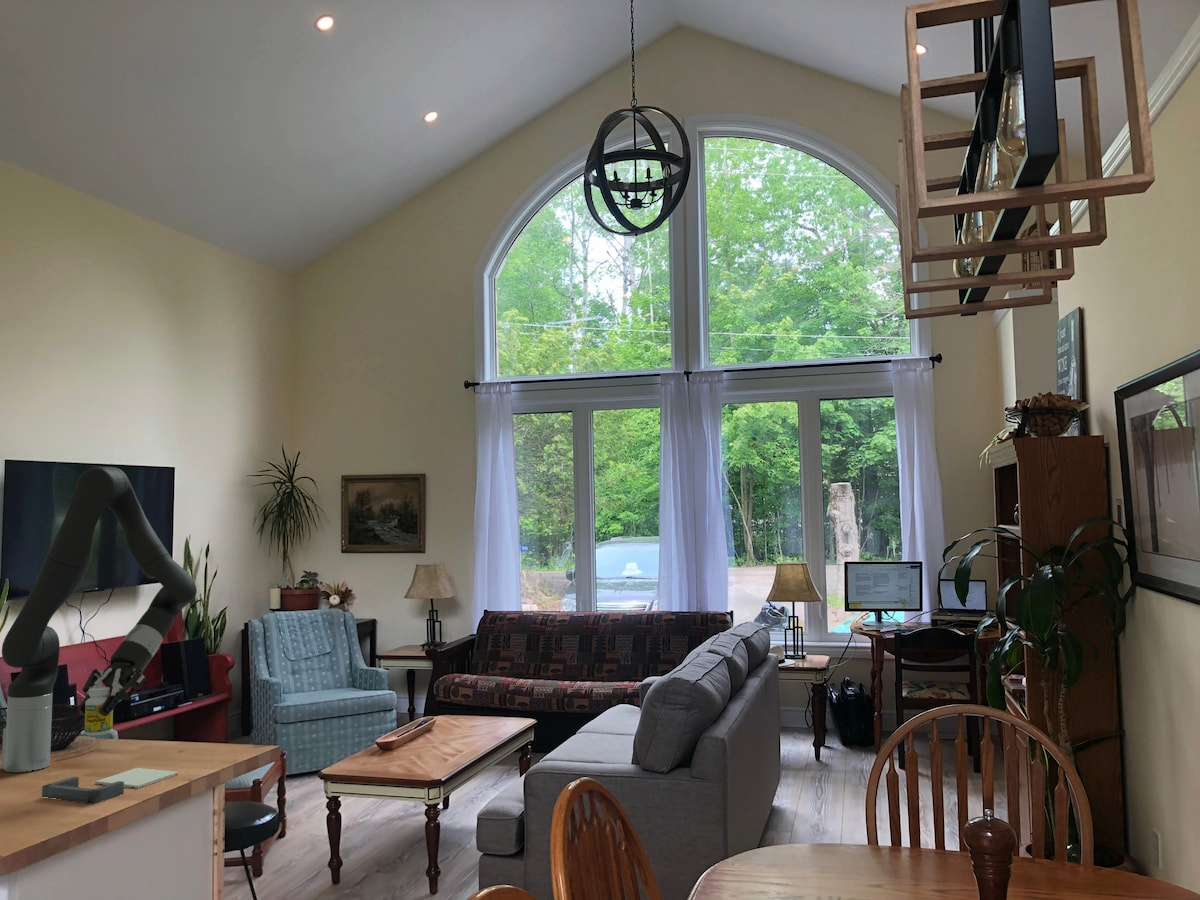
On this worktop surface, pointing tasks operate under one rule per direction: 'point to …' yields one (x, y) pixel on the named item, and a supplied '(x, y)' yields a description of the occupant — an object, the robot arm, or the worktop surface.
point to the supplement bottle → (97, 713)
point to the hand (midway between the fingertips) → (92, 712)
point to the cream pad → (138, 777)
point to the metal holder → (81, 791)
